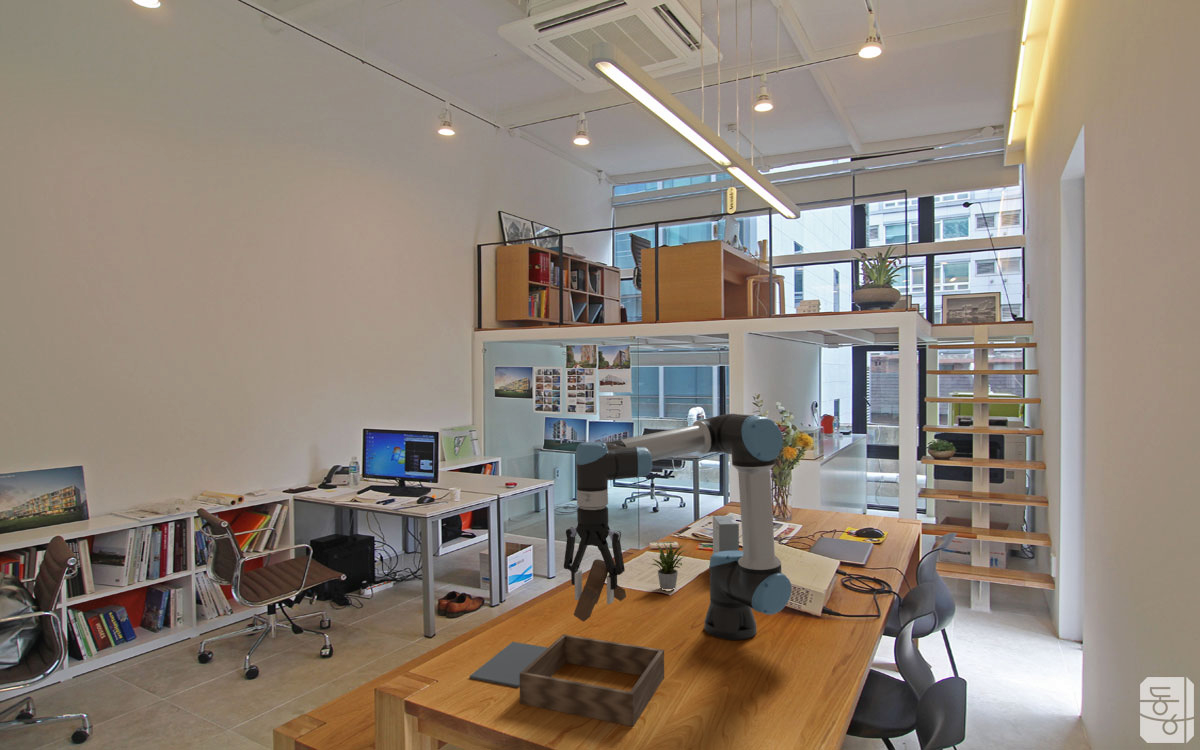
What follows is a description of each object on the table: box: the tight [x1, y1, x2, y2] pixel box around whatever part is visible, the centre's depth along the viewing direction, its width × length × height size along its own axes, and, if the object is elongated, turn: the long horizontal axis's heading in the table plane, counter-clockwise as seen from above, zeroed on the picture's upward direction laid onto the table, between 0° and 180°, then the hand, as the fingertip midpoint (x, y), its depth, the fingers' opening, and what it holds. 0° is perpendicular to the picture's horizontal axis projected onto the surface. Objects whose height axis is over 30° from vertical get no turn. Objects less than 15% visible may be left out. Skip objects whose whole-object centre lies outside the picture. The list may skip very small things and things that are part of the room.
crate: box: [519, 633, 665, 727], centre depth 158 cm, size 28×24×7 cm
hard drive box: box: [712, 515, 740, 554], centre depth 249 cm, size 16×8×20 cm, turn 179°
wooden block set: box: [573, 558, 627, 623], centre depth 156 cm, size 18×9×10 cm, turn 151°
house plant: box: [648, 542, 687, 589], centre depth 230 cm, size 14×14×16 cm
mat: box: [469, 641, 549, 689], centre depth 173 cm, size 14×22×1 cm, turn 158°
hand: (594, 600), depth 158 cm, fingers closed on wooden block set, 8 cm apart
